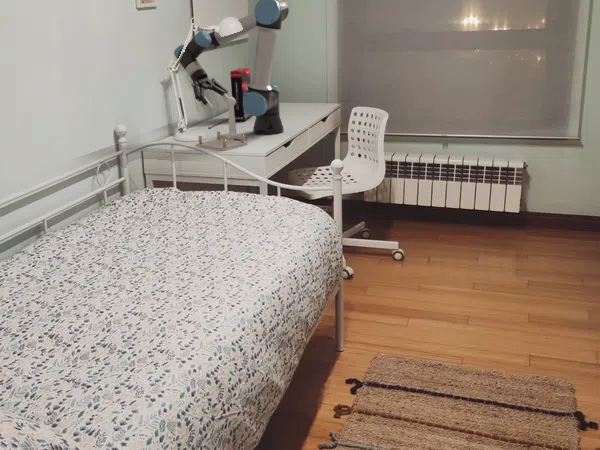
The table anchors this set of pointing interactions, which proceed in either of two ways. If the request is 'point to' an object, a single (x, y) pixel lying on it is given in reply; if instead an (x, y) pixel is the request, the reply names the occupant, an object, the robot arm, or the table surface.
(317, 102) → the table surface
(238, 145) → the plate
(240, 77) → the graphics card box
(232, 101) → the joystick
